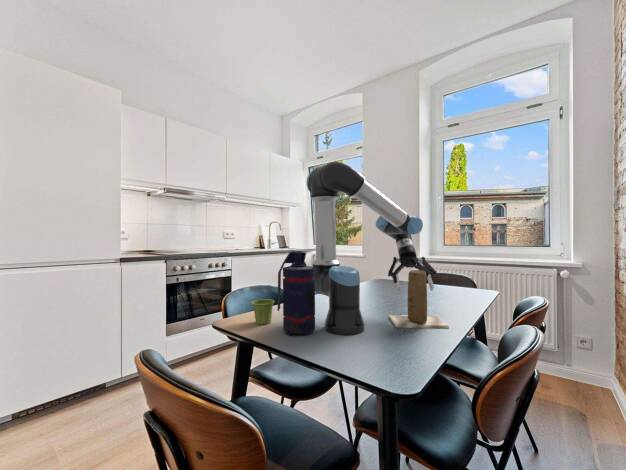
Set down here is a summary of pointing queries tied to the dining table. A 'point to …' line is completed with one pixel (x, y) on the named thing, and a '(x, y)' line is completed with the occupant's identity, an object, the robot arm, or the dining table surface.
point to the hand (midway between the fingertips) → (415, 289)
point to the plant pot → (263, 310)
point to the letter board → (404, 322)
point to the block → (417, 296)
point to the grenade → (297, 295)
